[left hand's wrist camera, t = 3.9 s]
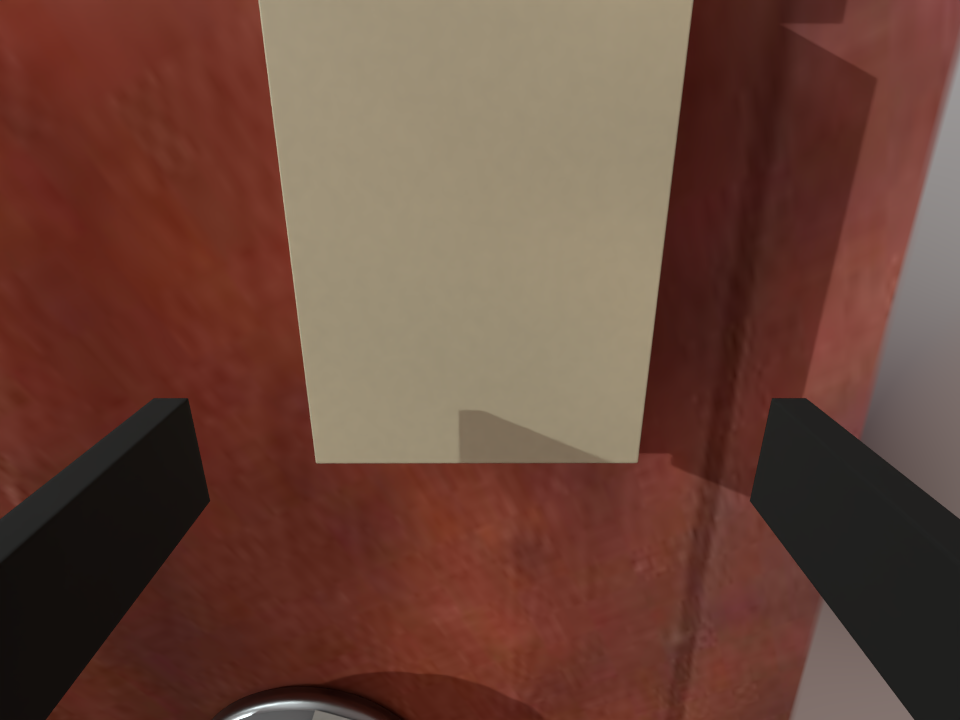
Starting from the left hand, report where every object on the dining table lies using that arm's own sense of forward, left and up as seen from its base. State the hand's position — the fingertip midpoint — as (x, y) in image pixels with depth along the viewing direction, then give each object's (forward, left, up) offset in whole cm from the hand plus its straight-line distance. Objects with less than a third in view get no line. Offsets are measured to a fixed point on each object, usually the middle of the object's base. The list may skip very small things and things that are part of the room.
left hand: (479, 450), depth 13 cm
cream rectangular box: (+5, -1, -14) cm, 14 cm away
